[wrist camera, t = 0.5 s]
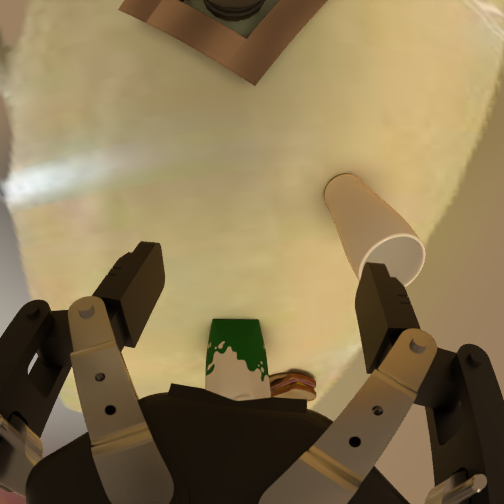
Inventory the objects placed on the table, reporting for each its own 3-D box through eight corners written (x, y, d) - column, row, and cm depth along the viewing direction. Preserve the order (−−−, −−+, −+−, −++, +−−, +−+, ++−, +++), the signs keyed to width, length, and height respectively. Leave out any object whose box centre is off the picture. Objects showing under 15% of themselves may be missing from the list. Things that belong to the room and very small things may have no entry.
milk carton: (206, 314, 48) (201, 435, 32) (265, 315, 49) (280, 434, 33) (208, 349, 53) (205, 457, 37) (260, 349, 54) (271, 456, 38)
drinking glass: (378, 192, 38) (437, 263, 26) (339, 226, 41) (381, 307, 28) (347, 155, 35) (406, 217, 23) (306, 192, 38) (342, 270, 25)
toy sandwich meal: (239, 386, 61) (240, 406, 58) (295, 360, 57) (299, 381, 53) (275, 405, 67) (277, 423, 63) (326, 383, 63) (330, 401, 59)
